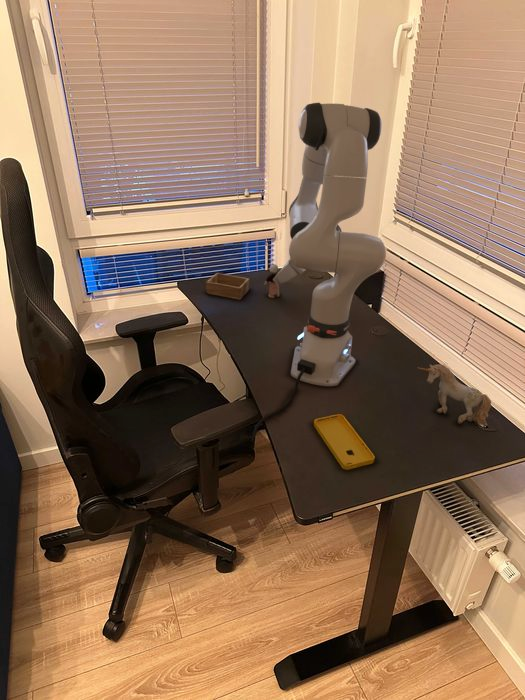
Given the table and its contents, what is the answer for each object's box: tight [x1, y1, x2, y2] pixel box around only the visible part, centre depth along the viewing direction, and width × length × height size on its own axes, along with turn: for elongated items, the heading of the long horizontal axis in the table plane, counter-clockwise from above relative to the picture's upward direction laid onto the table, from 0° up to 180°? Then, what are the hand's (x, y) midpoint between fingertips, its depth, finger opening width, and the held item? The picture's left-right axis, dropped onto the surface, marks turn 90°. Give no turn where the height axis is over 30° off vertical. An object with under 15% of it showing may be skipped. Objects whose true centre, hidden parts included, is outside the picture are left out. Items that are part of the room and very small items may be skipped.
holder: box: [205, 272, 251, 300], centre depth 189 cm, size 10×14×5 cm
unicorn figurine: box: [417, 363, 492, 427], centre depth 128 cm, size 7×20×13 cm, turn 63°
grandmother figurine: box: [263, 263, 280, 299], centre depth 184 cm, size 8×4×13 cm, turn 128°
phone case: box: [313, 413, 376, 471], centre depth 120 cm, size 8×17×1 cm, turn 20°
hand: (276, 278), depth 184 cm, fingers closed on grandmother figurine, 3 cm apart
